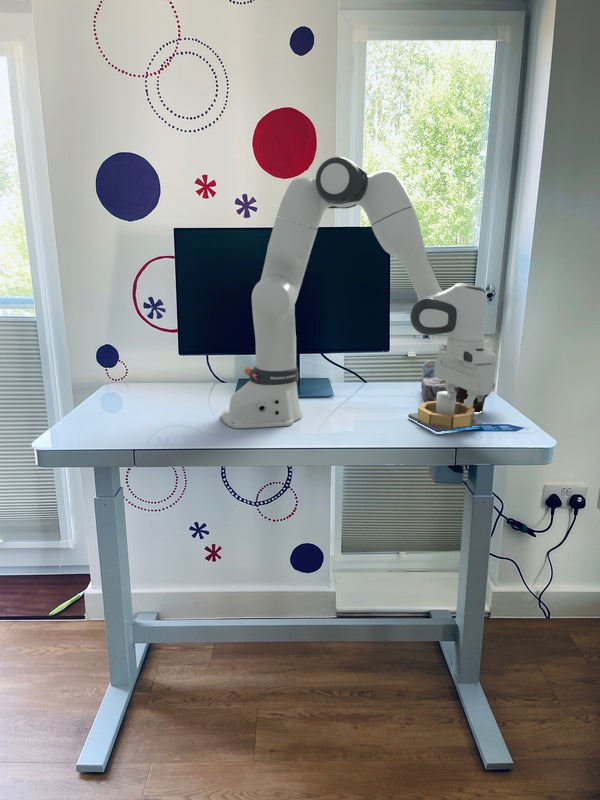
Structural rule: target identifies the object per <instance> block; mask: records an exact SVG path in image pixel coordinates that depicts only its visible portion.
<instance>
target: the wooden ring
mask: <svg viewBox="0 0 600 800" xmlns="http://www.w3.org/2000/svg"><path fill="white" fill-rule="evenodd" d="M417 411H418V412H417V413H418V419H419V420H421V421H423V422H424V423H426V424H428V425H431V426H439V427H446V428H451V427H452V428H457V427H464V426H470V425H471V424H472V422H473V420H475V419H474V418H475V415H474V411H475V409H474V408H473V407H471V408H468V407H465V406H464V403H460V402H456V403H455V414H457V415H446V414H438V413H436V401H430V402H425V401H424V402H422V403H421V404H420V405H419V406H418V408H417Z"/></svg>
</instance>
